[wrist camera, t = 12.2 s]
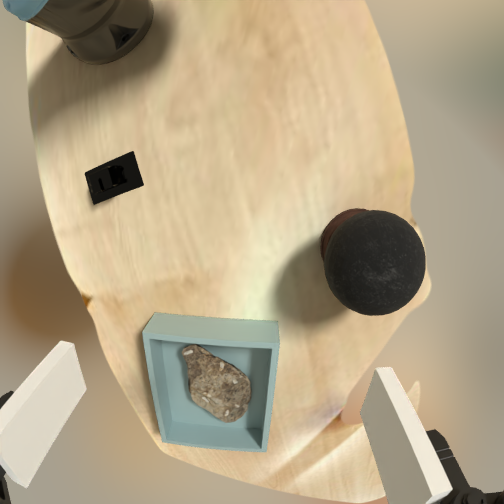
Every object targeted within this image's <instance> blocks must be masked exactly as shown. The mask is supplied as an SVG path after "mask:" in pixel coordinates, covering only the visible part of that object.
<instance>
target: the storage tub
mask: <svg viewBox="0 0 504 504" xmlns="http://www.w3.org/2000/svg"><path fill="white" fill-rule="evenodd" d="M142 334H143V342H144V349H145V355H146V362H147V368H148V374H149V380H150V385H151V391H152V396H153V401H154V406H155V411H156V416H157V420H158V425H159V429H160V434H161V438H162V442H165V443H171V444H177V445H184V446H192V447H200V448H209V449H219V450H231V451H248V452H266V451H267V444H268V437H269V429H270V422H271V414H272V406H273V398H274V390H275V381H276V373H277V364H278V355H279V345H280V340H279V330H278V321H264V320H244V319H228V318H213V317H200V316H188V315H176V314H166V313H156V312H155V313H154V315H153V316H152V318H151V319H150V321H149V322H148V324H147V325H146V327H145V329H144V330H143V332H142ZM192 344H199V345H200V346H202V347H203V348H205V349H206V350H207V351H209V352H211V353H212V354H213V355H214V356H217V357H219V358H221V359H223V360H225V361H227V362H228V363H230V364H233V365H234V366H236V367H237V368H238V369H240V370H241V371H242V372H243V373H245V375H246V376H248V378H249V380H250V382H251V385H250V386H251V390H252V393H251V400H250V402H249V404H248V410H247V411H246V413H245V414H244V415H243V416H242V417H241V418H239V419H238V420H237V421H235V422H231V423H225V422H223V421H221V420H219V419H218V418H217V417H215V416H214V415H212V414H211V413H210V412H209V411H208V410H206V409H205V408H202V407H201V406H198V405H197V404H196V403H195V402H194V401H193V400H192V397H191V393H190V392H189V389H188V373H187V371H188V368H187V364H186V361H185V359H184V357H183V355H182V350H183V349H184V347H186V346H189V345H192Z"/></svg>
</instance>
